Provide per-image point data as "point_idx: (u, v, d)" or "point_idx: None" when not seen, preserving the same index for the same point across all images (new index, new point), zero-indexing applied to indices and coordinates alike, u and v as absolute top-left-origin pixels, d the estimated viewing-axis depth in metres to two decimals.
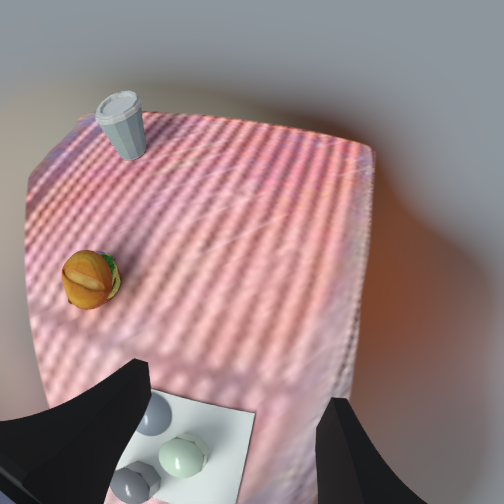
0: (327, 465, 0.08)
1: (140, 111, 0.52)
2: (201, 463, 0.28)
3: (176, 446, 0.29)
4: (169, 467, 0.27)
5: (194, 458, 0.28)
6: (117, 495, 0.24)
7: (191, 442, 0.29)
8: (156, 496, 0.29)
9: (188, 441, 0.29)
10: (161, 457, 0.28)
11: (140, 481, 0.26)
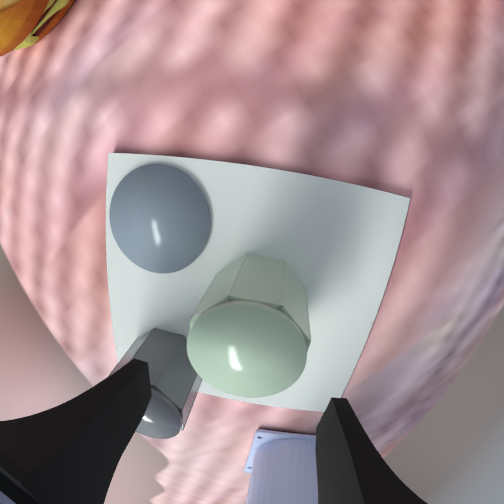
0: (326, 464, 0.08)
1: None
2: (302, 364, 0.13)
3: (231, 327, 0.12)
4: (220, 378, 0.13)
5: (284, 355, 0.12)
6: None
7: (275, 310, 0.12)
8: (199, 388, 0.22)
9: (266, 308, 0.12)
10: (194, 356, 0.13)
11: (159, 404, 0.15)
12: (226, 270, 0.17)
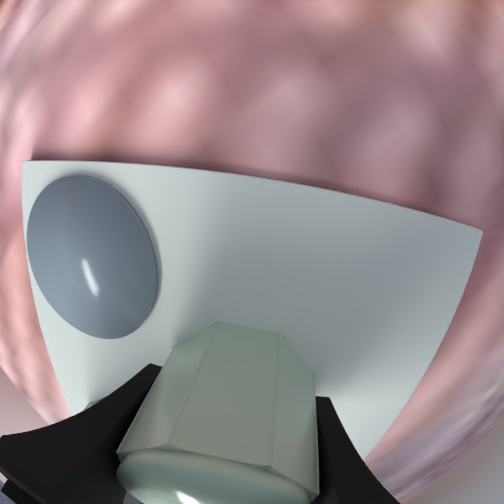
0: None
1: None
2: None
3: (179, 485, 0.05)
4: None
5: None
6: None
7: (256, 476, 0.05)
8: None
9: (238, 475, 0.05)
10: (134, 492, 0.06)
11: None
12: (185, 348, 0.10)
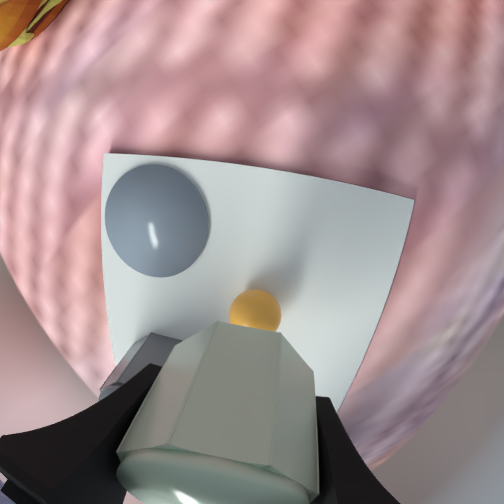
0: None
1: None
2: None
3: (179, 485, 0.05)
4: None
5: None
6: None
7: (256, 475, 0.05)
8: None
9: (238, 475, 0.05)
10: (134, 492, 0.06)
11: None
12: (185, 348, 0.10)
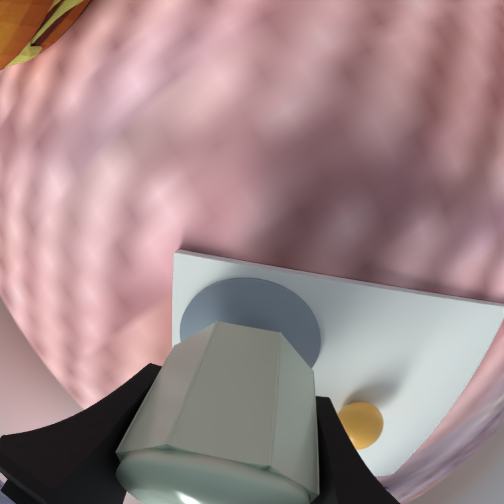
0: None
1: None
2: None
3: (179, 485, 0.05)
4: None
5: None
6: None
7: (256, 476, 0.05)
8: None
9: (238, 475, 0.05)
10: (134, 492, 0.06)
11: None
12: (185, 348, 0.10)
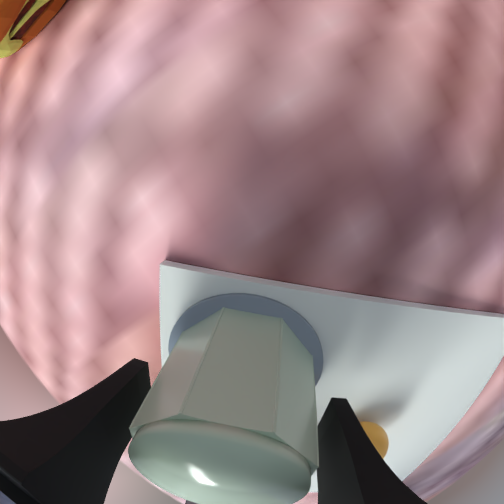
0: (326, 464, 0.08)
1: None
2: (303, 492, 0.06)
3: (189, 456, 0.06)
4: (184, 492, 0.07)
5: (276, 485, 0.06)
6: None
7: (261, 442, 0.06)
8: None
9: (245, 441, 0.06)
10: (144, 469, 0.07)
11: None
12: (193, 333, 0.11)
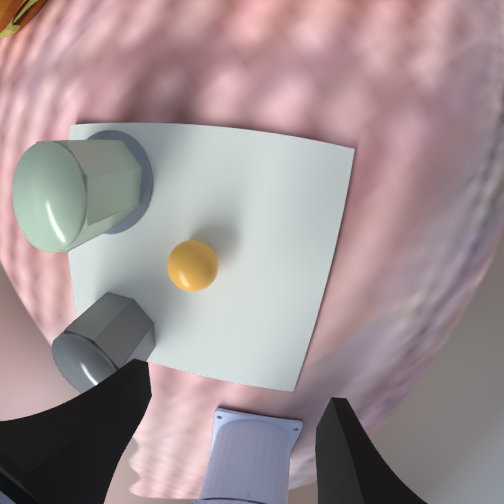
0: (327, 465, 0.08)
1: None
2: (78, 200, 0.11)
3: (32, 167, 0.11)
4: (31, 229, 0.12)
5: (64, 190, 0.11)
6: (75, 386, 0.16)
7: (58, 144, 0.11)
8: (153, 358, 0.21)
9: (52, 143, 0.10)
10: (16, 206, 0.12)
11: (97, 360, 0.14)
12: None
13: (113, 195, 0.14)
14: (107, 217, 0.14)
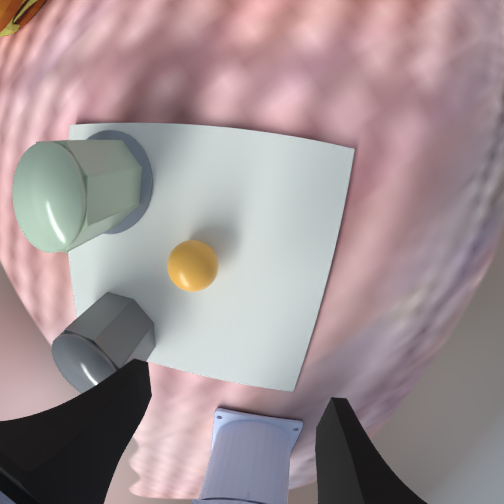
0: (327, 465, 0.08)
1: None
2: (78, 200, 0.11)
3: (32, 167, 0.11)
4: (31, 229, 0.12)
5: (64, 190, 0.11)
6: (75, 386, 0.16)
7: (58, 144, 0.11)
8: (153, 358, 0.21)
9: (52, 143, 0.10)
10: (16, 206, 0.12)
11: (97, 360, 0.14)
12: None
13: (113, 195, 0.14)
14: (107, 217, 0.14)
